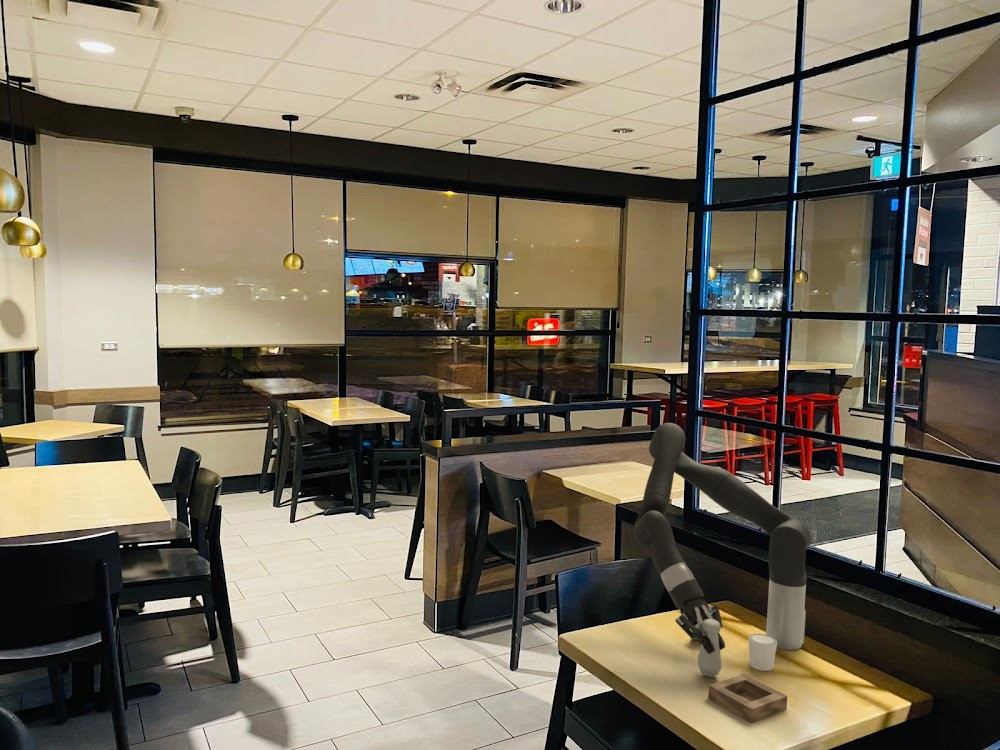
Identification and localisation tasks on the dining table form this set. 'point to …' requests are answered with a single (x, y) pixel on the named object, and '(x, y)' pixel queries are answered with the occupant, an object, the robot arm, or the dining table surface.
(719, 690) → the socket
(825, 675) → the dining table surface
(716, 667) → the salt shaker
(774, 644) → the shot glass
